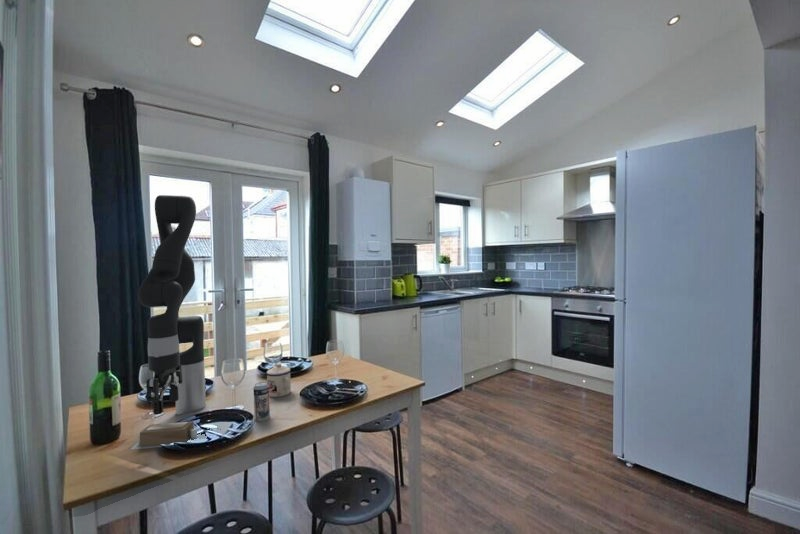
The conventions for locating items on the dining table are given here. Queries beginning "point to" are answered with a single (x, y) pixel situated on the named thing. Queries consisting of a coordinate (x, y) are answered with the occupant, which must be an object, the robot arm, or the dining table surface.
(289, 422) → the dining table surface
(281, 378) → the teacup with lid
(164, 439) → the brown rectangular block
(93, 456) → the dining table surface
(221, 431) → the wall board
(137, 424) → the dining table surface
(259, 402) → the beer can
